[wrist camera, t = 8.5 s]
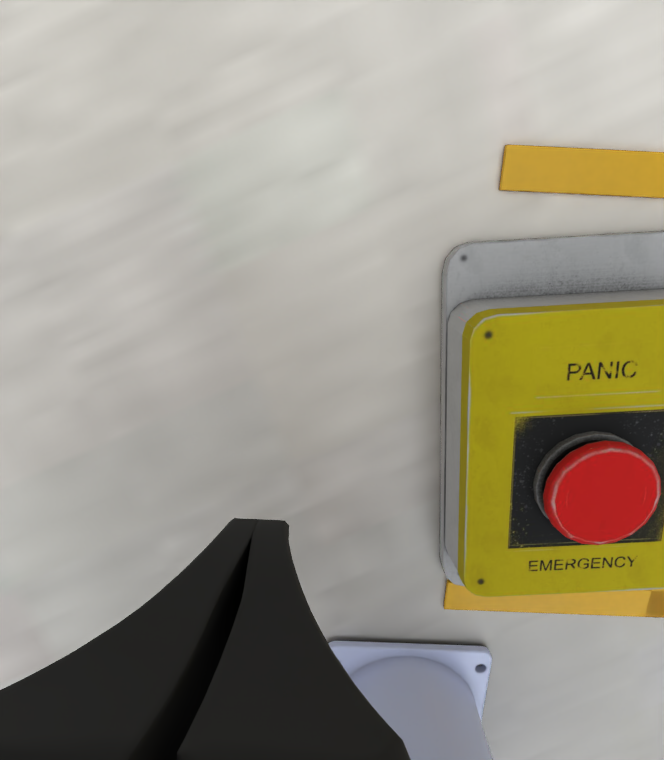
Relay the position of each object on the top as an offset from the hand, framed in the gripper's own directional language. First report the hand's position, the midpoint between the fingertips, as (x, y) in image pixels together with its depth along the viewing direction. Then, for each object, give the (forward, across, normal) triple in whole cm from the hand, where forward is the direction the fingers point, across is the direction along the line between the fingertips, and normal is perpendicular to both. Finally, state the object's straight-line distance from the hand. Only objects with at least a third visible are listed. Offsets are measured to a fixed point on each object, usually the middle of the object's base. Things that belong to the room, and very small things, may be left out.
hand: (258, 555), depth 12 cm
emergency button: (+9, -11, -1) cm, 14 cm away
